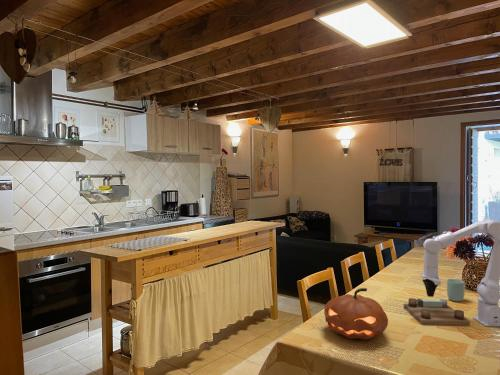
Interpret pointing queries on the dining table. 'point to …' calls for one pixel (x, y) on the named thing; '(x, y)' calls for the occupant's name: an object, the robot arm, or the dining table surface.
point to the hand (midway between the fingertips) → (430, 296)
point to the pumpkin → (355, 316)
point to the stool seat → (436, 315)
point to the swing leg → (432, 303)
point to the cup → (455, 289)
